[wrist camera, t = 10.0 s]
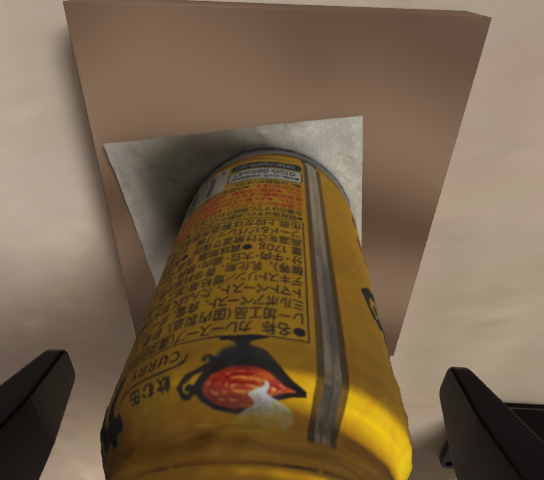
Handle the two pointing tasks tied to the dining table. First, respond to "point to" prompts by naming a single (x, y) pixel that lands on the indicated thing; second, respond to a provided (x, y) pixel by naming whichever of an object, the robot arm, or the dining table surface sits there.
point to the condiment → (254, 313)
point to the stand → (286, 104)
